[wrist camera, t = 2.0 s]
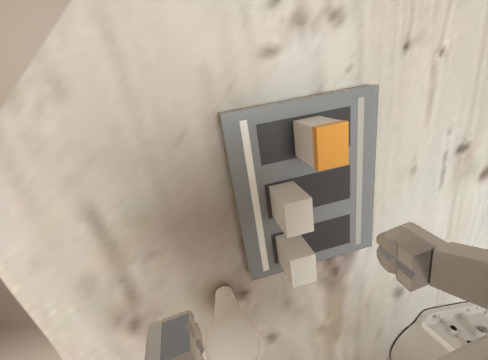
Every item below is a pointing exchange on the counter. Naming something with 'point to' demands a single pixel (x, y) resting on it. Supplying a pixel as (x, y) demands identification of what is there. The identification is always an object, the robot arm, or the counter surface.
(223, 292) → the lightbulb
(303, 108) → the panel
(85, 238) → the counter surface
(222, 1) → the counter surface
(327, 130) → the block
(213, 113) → the counter surface
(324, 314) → the counter surface
